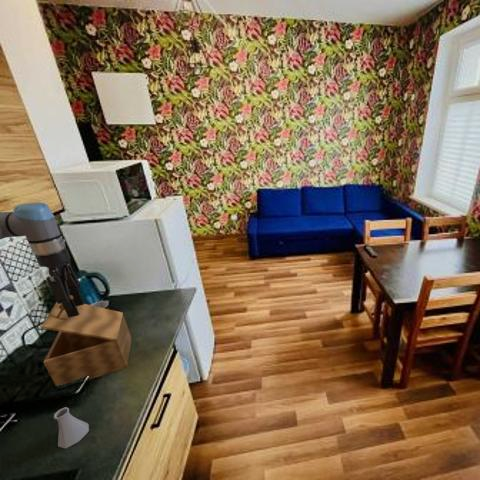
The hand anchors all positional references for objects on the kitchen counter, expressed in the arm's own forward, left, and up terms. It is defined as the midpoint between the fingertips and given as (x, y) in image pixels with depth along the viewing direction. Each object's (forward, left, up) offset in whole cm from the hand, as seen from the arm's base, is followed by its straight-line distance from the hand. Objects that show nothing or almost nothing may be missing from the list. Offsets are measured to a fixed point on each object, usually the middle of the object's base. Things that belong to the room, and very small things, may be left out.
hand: (76, 310), depth 94 cm
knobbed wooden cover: (+1, +1, -5) cm, 5 cm away
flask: (+15, -26, -25) cm, 39 cm away
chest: (0, 0, -24) cm, 24 cm away
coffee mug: (-14, +20, -25) cm, 35 cm away
